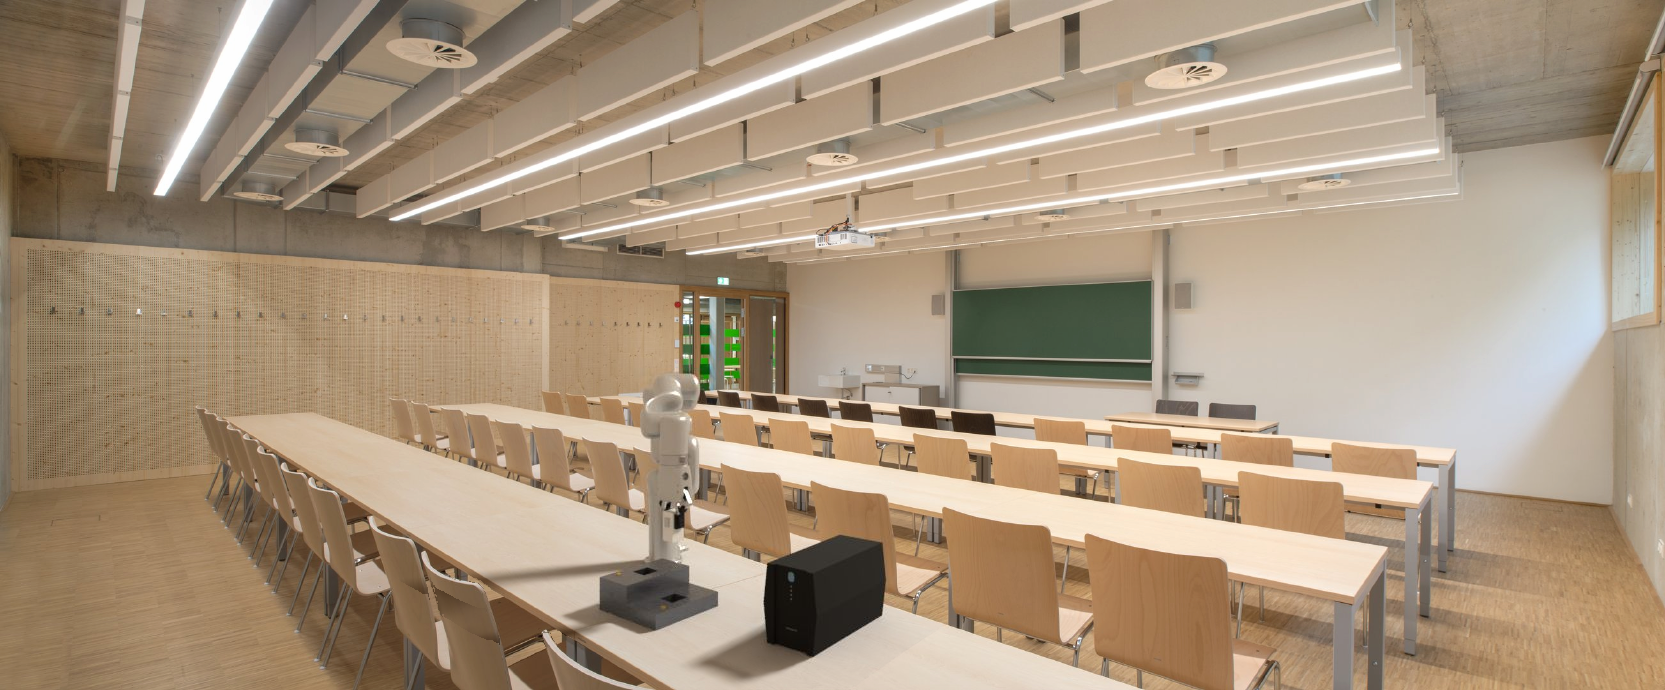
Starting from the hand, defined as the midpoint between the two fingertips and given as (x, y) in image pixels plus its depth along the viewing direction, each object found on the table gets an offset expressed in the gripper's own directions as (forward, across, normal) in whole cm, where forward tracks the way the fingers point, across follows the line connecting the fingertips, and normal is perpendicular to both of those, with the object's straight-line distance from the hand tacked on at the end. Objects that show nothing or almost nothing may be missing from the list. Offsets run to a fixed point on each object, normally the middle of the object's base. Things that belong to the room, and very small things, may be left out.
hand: (673, 526), depth 200 cm
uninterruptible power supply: (+24, -40, -18) cm, 50 cm away
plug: (+4, 0, 0) cm, 4 cm away
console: (+24, +6, 0) cm, 24 cm away
